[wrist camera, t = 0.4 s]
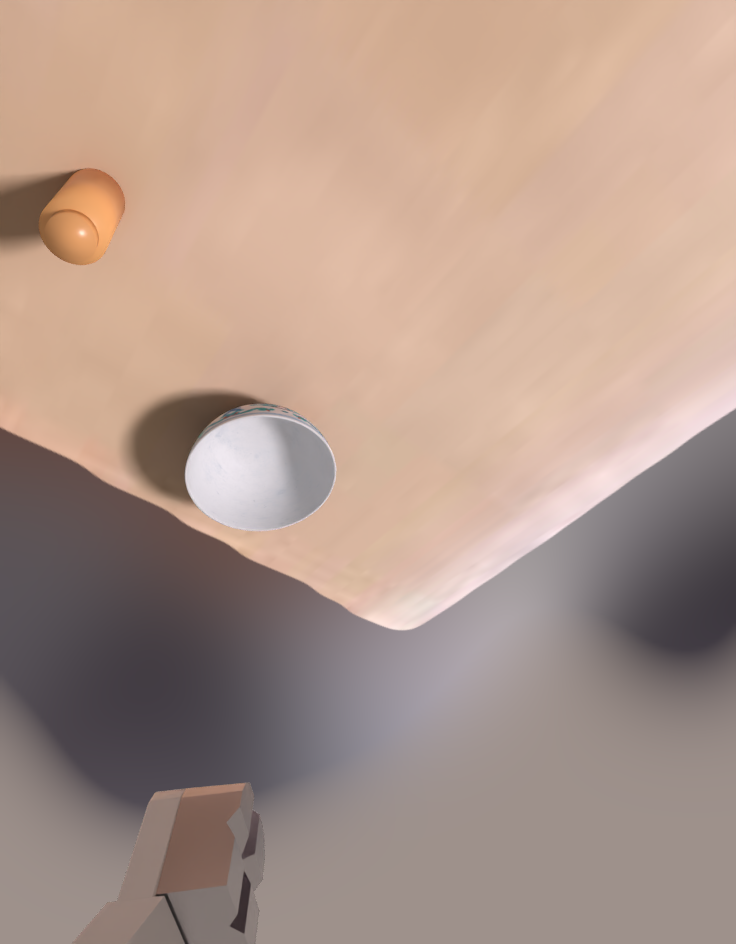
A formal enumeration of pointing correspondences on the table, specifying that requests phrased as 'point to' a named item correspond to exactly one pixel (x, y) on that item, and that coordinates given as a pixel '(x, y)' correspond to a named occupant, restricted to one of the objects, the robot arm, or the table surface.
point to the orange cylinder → (82, 217)
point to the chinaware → (260, 468)
